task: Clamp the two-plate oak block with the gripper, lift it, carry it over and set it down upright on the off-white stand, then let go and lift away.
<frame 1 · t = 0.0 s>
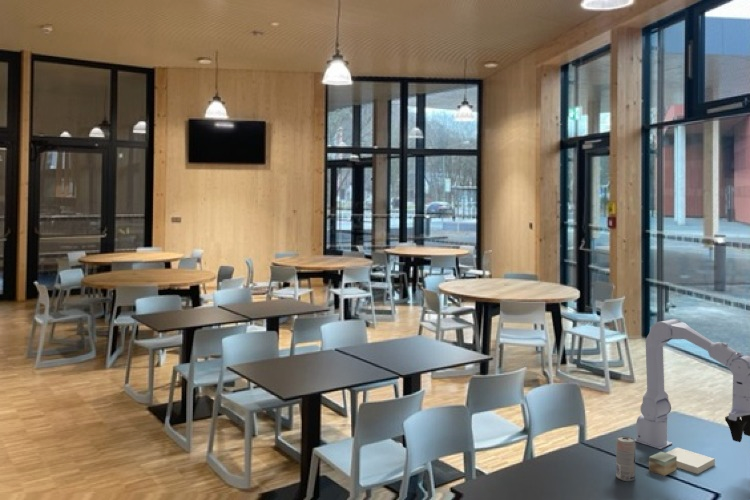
hand: (742, 438, 189), 10 cm above the table, tool pointing down, fingers open, 7 cm apart
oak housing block: (662, 470, 190), on the table
white stand: (686, 463, 195), on the table
energy drink: (625, 478, 185), on the table
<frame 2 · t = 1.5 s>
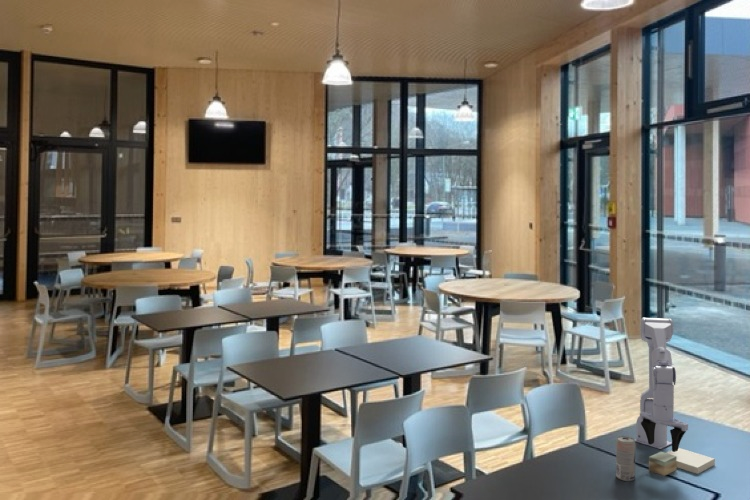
hand: (662, 447, 190), 7 cm above the table, tool pointing down, fingers open, 7 cm apart
nothing on the table moved.
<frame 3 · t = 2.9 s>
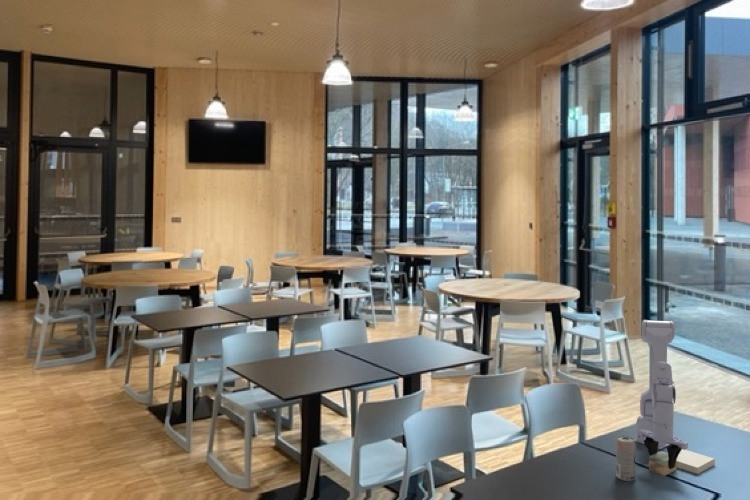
hand: (662, 465, 190), 2 cm above the table, tool pointing down, fingers closed on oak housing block, 5 cm apart
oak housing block: (662, 470, 190), on the table, touching gripper
everything else where it was.
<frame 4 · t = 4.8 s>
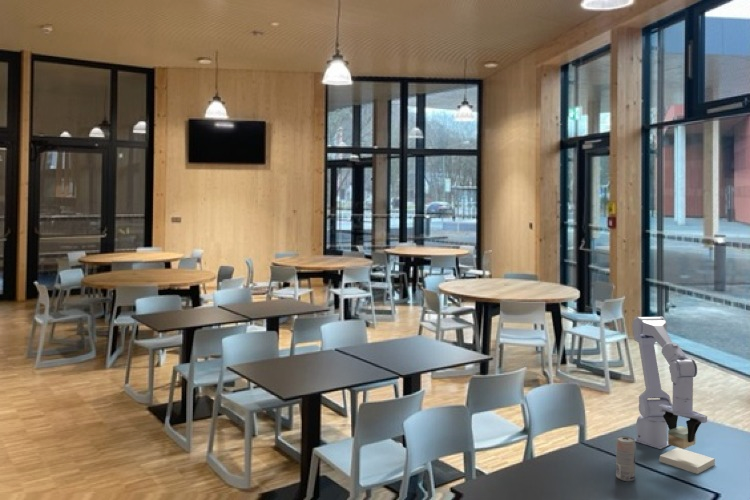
hand: (682, 438, 194), 8 cm above the table, tool pointing down, fingers closed on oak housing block, 5 cm apart
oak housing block: (681, 444, 194), point 7 cm above the table, touching gripper
everything else where it was.
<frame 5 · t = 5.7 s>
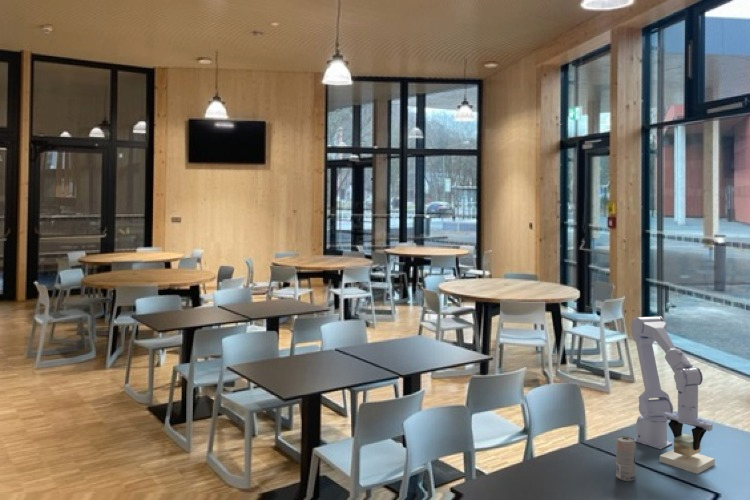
hand: (687, 446, 195), 5 cm above the table, tool pointing down, fingers closed on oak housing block, 5 cm apart
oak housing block: (687, 451, 195), point 4 cm above the table, touching gripper
everything else where it was.
when the fingers open (5 cm above the table, at t = 6.7 s): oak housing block drops 1 cm, resting on white stand.
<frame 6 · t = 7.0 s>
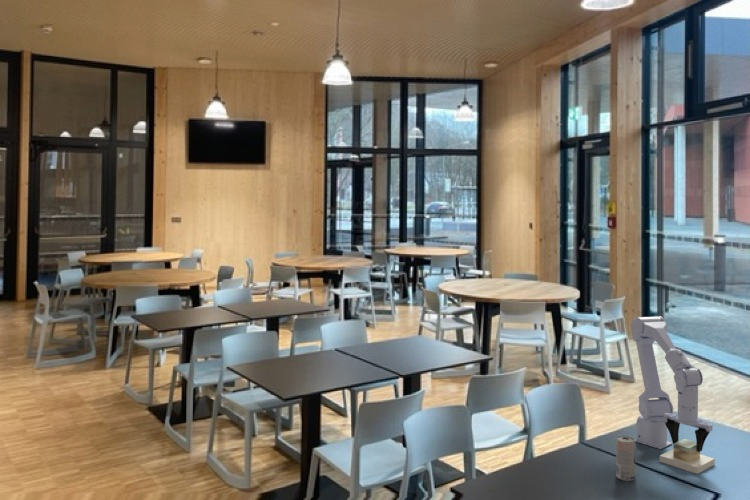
hand: (687, 447, 195), 5 cm above the table, tool pointing down, fingers open, 7 cm apart
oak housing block: (686, 457, 195), point 2 cm above the table, touching white stand
everything else where it was.
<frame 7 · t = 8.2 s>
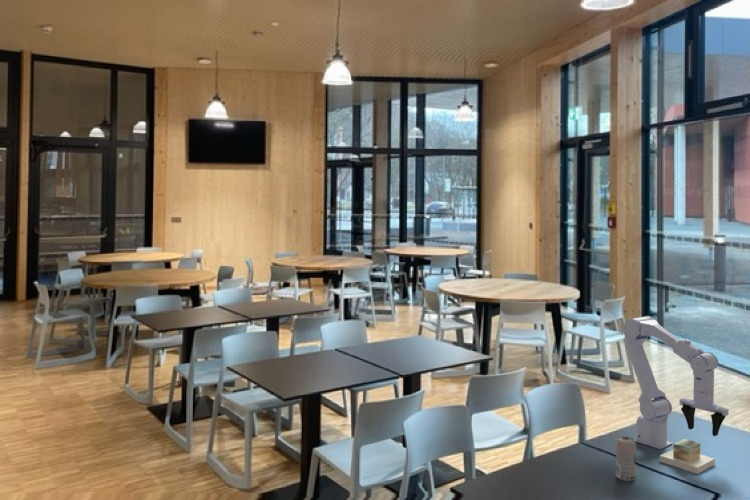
hand: (702, 431, 197), 9 cm above the table, tool pointing down, fingers open, 7 cm apart
nothing on the table moved.
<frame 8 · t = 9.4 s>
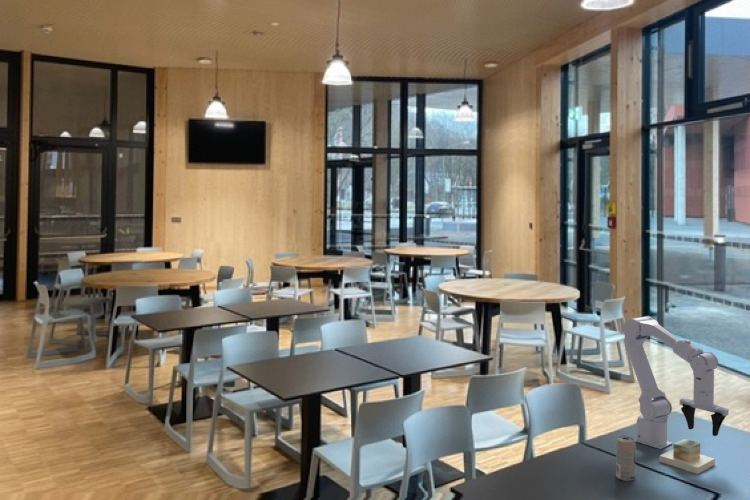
hand: (703, 431, 197), 9 cm above the table, tool pointing down, fingers open, 7 cm apart
nothing on the table moved.
at the end: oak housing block inside the target area on the white stand (0.1 cm from its centre), point 2.0 cm above the white stand's base; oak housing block tilted 0°; the gripper is holding nothing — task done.
